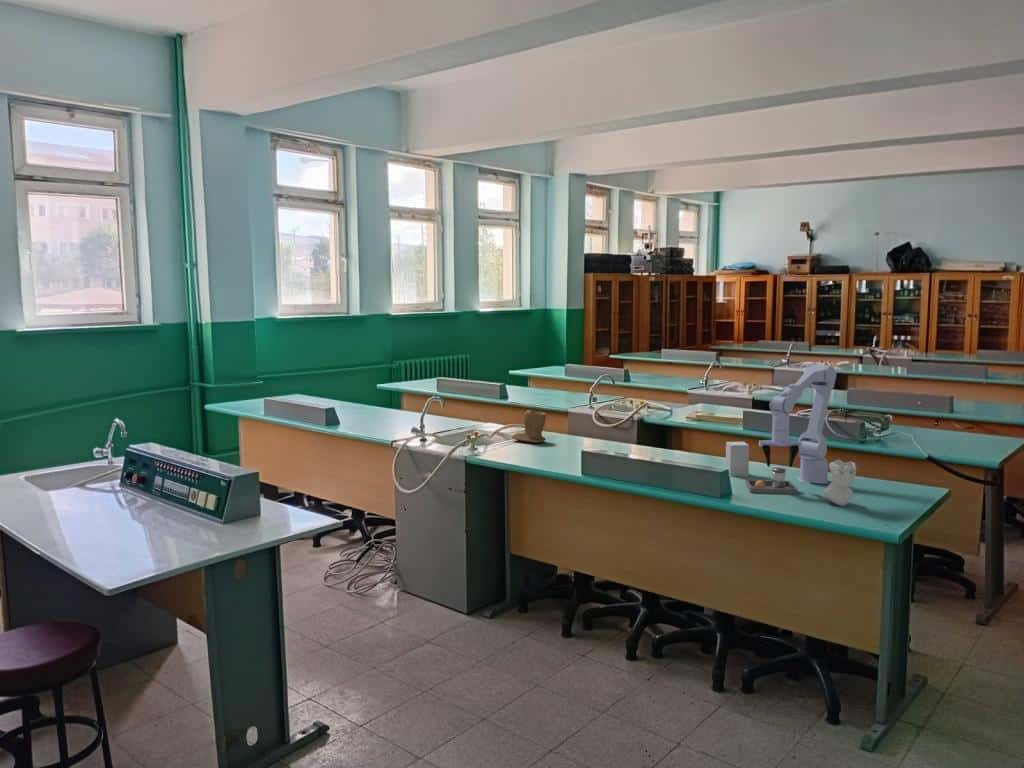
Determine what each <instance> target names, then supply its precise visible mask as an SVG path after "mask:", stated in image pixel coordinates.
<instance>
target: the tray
mask: <svg viewBox="0 0 1024 768" xmlns="http://www.w3.org/2000/svg"><path fill="white" fill-rule="evenodd" d="M744 481H745V486H746V488H747V490H748V492H749V493H750V494H774V495H775V494H777V495H779V494H780V495H797V494H798V488H796V485H794V484H793V482H792V481H791V480H785V488H772V479H769V480H768V479H745V480H744ZM757 481H763V482H764V483H765V488H756V487H755V483H756V482H757Z"/></svg>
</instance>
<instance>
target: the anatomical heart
mask: <svg viewBox="0 0 1024 768" xmlns="http://www.w3.org/2000/svg"><path fill="white" fill-rule="evenodd" d="M828 469H829V470H830V472H831V476H832V478H833V480H832V481H831V482H830V484H828V486H825V488H824V489H823V494H824V496H825V497H826V498H827V499H828V500H829V501H830V502H832V503H833V504H836V505H837V506H839V507H844V506H846V505H848V504H849V502H850V500H851V499H852V497H853V495H854V493H853V490H852V489H851V488H850V486H852V484H853V483H854V480H855V477H856V475H857V472H856V470H857V465H856V463H855V462H854V461H846V462H845V461H843V460H841V459H835V460H833V461H831V462H829V463H828Z"/></svg>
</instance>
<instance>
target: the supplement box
mask: <svg viewBox="0 0 1024 768" xmlns="http://www.w3.org/2000/svg"><path fill="white" fill-rule="evenodd" d="M725 443H726V444H725V468H726V467H727V468H728V469H729V472H730V476H729V477H749V467H750V466H749V465H750V463H749V462H750V445H749V444H748V443H746V442H745V441H726V442H725Z"/></svg>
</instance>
